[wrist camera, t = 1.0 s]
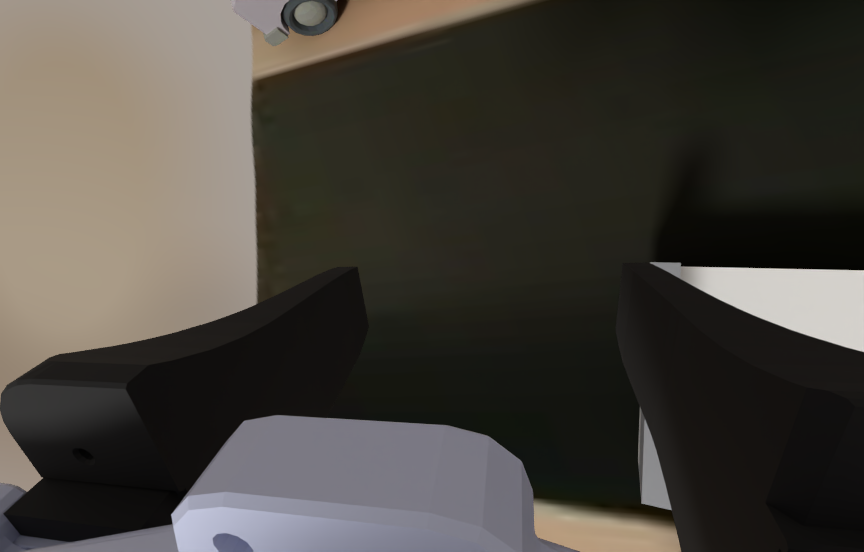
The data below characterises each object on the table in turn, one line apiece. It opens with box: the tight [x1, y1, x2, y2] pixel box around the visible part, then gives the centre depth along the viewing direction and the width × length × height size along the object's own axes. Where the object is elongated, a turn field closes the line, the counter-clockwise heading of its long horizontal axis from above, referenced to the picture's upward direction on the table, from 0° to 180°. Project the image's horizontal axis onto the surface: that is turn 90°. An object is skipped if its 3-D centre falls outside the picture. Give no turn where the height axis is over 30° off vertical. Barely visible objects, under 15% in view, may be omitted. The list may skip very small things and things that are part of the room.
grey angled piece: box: [638, 262, 864, 510], centre depth 17 cm, size 9×10×6 cm
